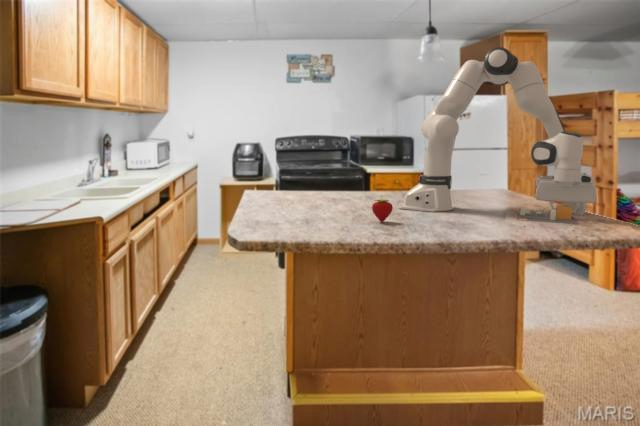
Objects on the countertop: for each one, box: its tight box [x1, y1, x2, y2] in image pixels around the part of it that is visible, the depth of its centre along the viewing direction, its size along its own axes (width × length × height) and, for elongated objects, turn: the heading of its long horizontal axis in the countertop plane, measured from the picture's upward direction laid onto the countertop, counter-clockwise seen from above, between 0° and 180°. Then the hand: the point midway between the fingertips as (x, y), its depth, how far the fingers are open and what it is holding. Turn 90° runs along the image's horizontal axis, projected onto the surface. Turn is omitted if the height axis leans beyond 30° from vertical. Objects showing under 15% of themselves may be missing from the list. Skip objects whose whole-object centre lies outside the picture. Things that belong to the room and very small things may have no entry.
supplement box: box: [562, 202, 587, 216], centre depth 193 cm, size 7×7×13 cm
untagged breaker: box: [519, 205, 526, 216], centre depth 187 cm, size 2×2×4 cm
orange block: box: [555, 204, 573, 219], centre depth 182 cm, size 5×5×4 cm
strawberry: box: [371, 195, 393, 223], centre depth 178 cm, size 6×8×10 cm
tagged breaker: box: [549, 209, 556, 220], centre depth 178 cm, size 2×2×4 cm
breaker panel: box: [516, 210, 579, 225], centre depth 182 cm, size 20×16×2 cm
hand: (563, 213), depth 182 cm, fingers closed on orange block, 5 cm apart
